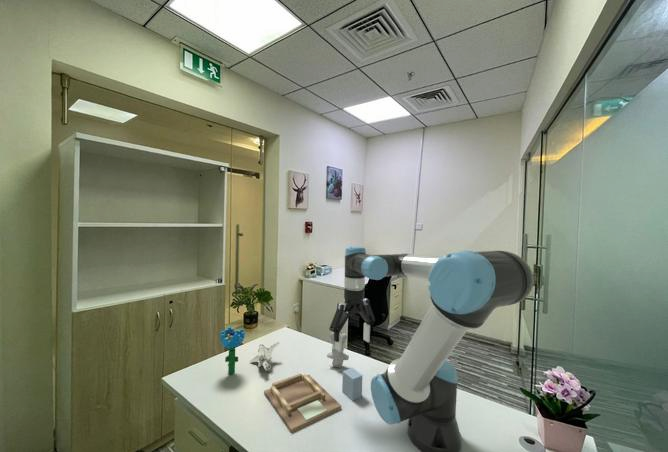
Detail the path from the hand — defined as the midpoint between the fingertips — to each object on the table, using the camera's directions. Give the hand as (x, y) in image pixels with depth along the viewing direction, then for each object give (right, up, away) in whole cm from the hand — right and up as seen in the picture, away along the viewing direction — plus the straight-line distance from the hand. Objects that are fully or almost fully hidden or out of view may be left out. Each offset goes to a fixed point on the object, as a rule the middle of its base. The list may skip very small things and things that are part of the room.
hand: (352, 345), depth 99 cm
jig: (-19, -18, -4) cm, 26 cm away
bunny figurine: (-5, -18, +19) cm, 27 cm away
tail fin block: (0, -19, 0) cm, 19 cm away
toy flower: (-50, -17, +12) cm, 54 cm away
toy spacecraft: (-30, -9, +17) cm, 36 cm away
